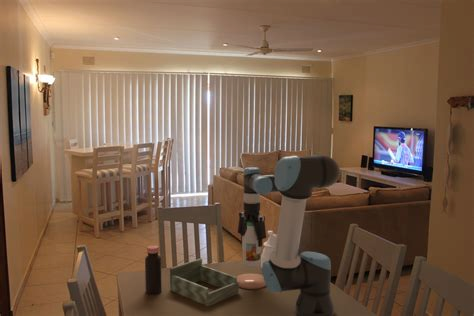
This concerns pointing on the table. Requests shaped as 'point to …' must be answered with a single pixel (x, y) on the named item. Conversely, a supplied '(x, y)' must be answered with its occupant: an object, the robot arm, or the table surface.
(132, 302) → the table surface
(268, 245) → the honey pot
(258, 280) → the pink round disc
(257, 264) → the milk bottle
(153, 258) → the vinegar
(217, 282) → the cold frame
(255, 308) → the table surface
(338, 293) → the table surface
